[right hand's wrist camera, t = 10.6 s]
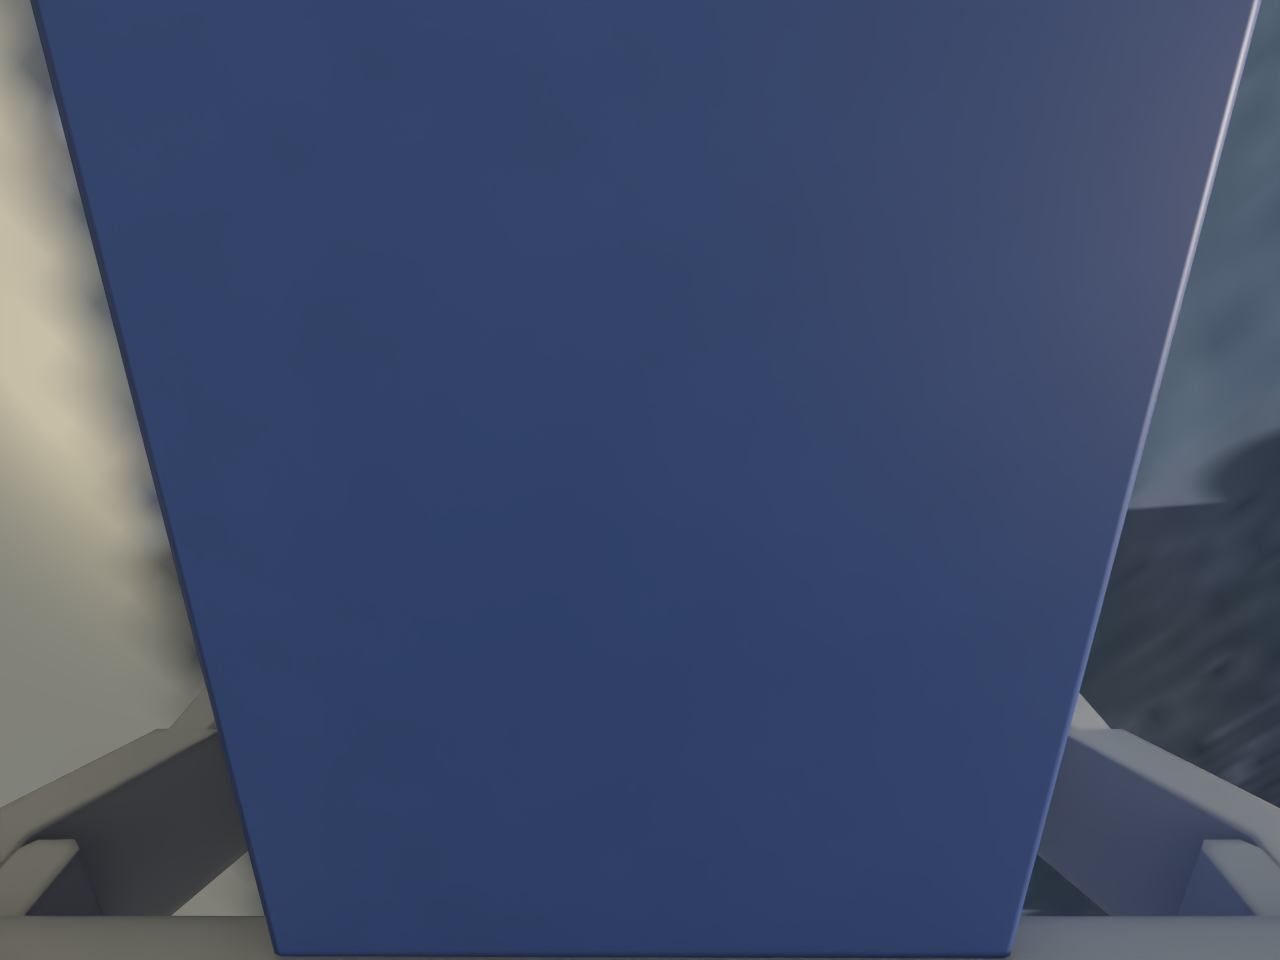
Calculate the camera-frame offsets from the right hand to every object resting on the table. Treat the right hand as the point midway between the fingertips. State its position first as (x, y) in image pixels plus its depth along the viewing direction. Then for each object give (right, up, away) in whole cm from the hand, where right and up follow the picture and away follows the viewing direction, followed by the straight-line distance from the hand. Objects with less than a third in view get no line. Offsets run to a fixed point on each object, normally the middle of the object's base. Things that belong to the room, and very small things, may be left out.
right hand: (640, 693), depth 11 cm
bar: (0, +10, 0) cm, 10 cm away
